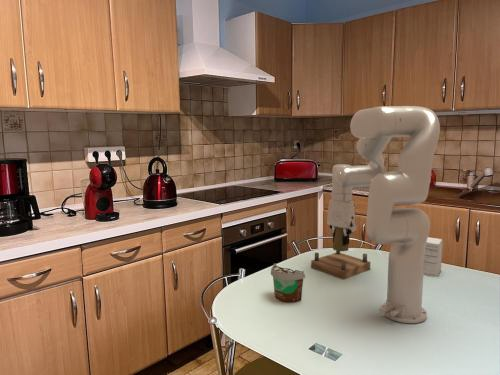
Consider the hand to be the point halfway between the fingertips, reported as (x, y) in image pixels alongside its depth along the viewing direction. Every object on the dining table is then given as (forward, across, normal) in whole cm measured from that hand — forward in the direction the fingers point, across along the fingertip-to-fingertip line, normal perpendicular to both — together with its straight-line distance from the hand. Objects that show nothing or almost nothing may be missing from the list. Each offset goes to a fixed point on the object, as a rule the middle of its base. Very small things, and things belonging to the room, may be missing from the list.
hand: (340, 243), depth 152 cm
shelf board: (+10, 0, 0) cm, 10 cm away
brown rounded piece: (+2, 0, 0) cm, 2 cm away
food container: (+10, +6, -36) cm, 38 cm away
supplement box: (+10, +24, +22) cm, 34 cm away
